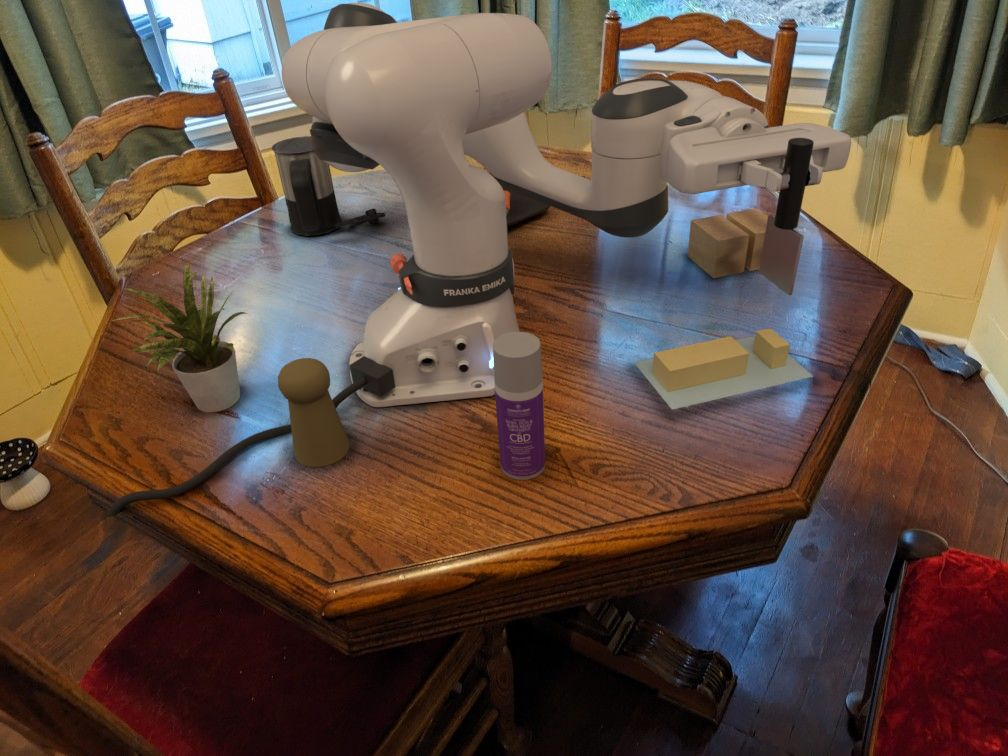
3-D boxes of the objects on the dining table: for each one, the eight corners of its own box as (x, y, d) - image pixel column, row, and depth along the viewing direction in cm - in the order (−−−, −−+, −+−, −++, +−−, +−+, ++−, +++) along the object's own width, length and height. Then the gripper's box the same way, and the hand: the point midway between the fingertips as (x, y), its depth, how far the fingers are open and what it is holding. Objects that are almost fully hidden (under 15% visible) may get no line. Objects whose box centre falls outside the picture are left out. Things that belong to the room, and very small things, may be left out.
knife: (780, 297, 80) (809, 152, 70) (750, 273, 84) (773, 134, 75) (800, 293, 80) (830, 148, 71) (769, 270, 85) (793, 131, 75)
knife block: (713, 278, 107) (718, 240, 103) (687, 256, 113) (690, 219, 110) (779, 265, 109) (786, 228, 106) (750, 244, 115) (755, 208, 112)
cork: (337, 470, 77) (316, 385, 71) (284, 464, 78) (259, 381, 72) (357, 433, 82) (339, 351, 75) (307, 428, 83) (286, 347, 77)
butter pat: (770, 369, 86) (774, 347, 84) (752, 351, 89) (755, 330, 87) (785, 365, 86) (790, 344, 85) (766, 348, 89) (770, 327, 88)
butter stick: (667, 392, 83) (669, 370, 82) (652, 373, 86) (653, 352, 85) (745, 374, 85) (749, 353, 84) (727, 356, 88) (730, 335, 87)
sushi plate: (396, 197, 140) (394, 178, 138) (511, 156, 156) (510, 138, 153) (497, 239, 122) (496, 218, 120) (615, 188, 138) (616, 168, 135)
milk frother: (285, 223, 132) (265, 141, 124) (367, 204, 138) (354, 124, 129) (304, 252, 122) (284, 165, 113) (393, 230, 127) (380, 145, 119)
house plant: (154, 378, 93) (107, 262, 84) (264, 352, 97) (231, 238, 87) (152, 445, 82) (98, 320, 73) (277, 412, 86) (240, 290, 76)
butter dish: (671, 416, 81) (672, 409, 81) (633, 368, 89) (633, 362, 89) (812, 383, 85) (813, 376, 84) (763, 340, 93) (764, 333, 92)
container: (511, 486, 74) (503, 363, 65) (493, 458, 77) (483, 338, 69) (553, 471, 75) (550, 349, 66) (533, 445, 79) (528, 326, 70)
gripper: (801, 156, 89) (878, 195, 78) (647, 180, 85) (706, 225, 74) (811, 102, 86) (894, 135, 75) (651, 126, 81) (714, 164, 71)
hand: (799, 181), depth 74 cm, fingers closed on knife, 2 cm apart
